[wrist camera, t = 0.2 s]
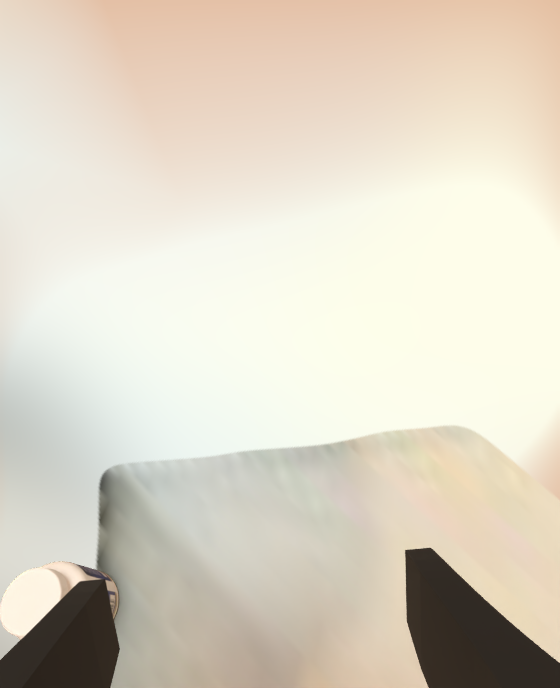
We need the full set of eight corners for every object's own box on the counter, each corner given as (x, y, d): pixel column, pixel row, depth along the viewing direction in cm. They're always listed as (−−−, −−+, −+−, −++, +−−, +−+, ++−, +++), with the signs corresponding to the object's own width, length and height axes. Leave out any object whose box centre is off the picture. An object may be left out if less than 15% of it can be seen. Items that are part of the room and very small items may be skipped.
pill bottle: (47, 596, 37) (-22, 587, 29) (106, 558, 39) (57, 538, 31) (67, 661, 35) (-1, 670, 27) (129, 616, 36) (83, 612, 28)
